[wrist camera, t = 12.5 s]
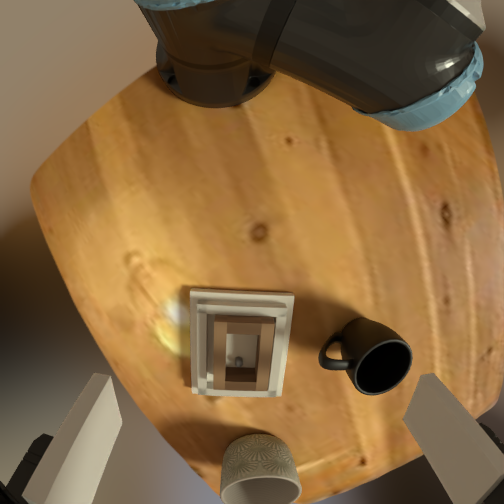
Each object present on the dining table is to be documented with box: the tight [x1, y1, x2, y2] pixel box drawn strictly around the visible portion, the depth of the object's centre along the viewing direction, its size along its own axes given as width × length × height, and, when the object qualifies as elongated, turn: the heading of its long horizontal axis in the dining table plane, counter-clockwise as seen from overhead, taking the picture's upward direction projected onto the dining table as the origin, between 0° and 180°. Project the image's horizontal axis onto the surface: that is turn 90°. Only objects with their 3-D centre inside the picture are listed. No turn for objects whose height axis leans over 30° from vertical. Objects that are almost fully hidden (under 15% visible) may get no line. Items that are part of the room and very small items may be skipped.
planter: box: [220, 434, 302, 504], centre depth 40 cm, size 12×12×11 cm
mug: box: [318, 318, 413, 395], centre depth 36 cm, size 8×12×10 cm
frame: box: [213, 314, 275, 391], centre depth 37 cm, size 10×7×4 cm
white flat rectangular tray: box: [190, 288, 295, 397], centre depth 39 cm, size 16×13×3 cm
